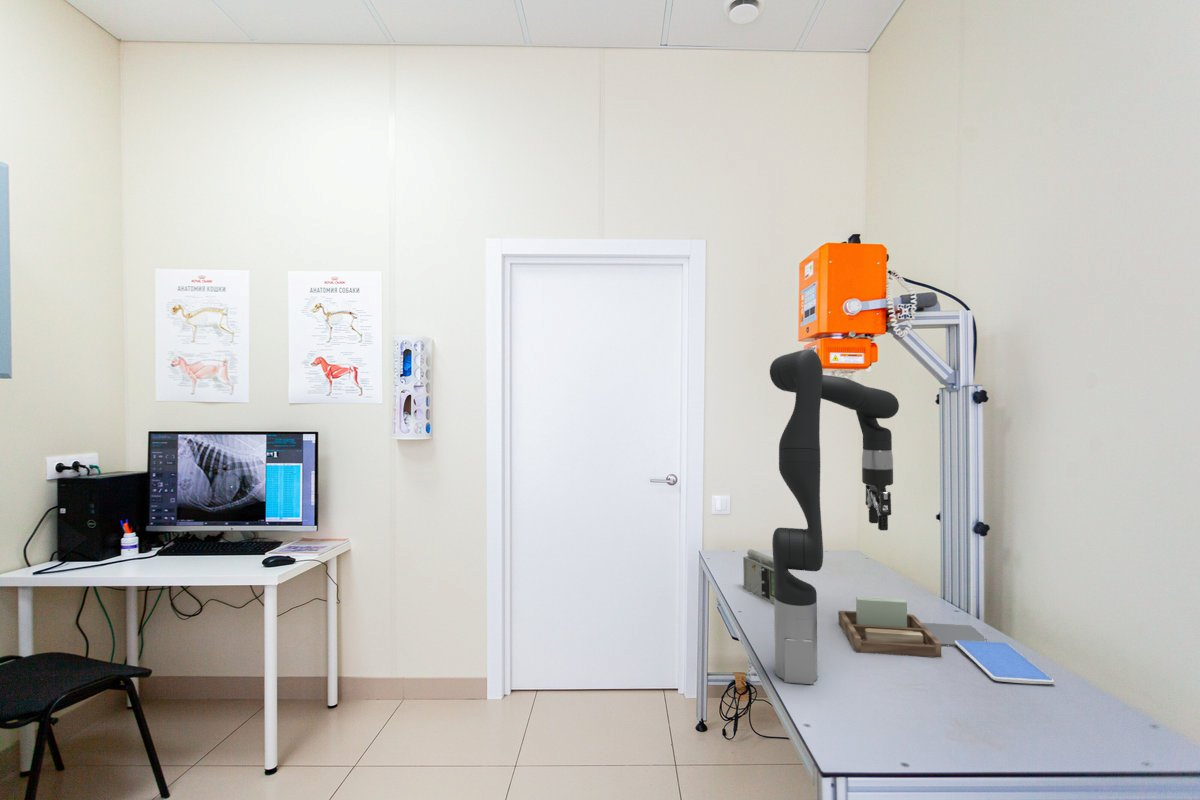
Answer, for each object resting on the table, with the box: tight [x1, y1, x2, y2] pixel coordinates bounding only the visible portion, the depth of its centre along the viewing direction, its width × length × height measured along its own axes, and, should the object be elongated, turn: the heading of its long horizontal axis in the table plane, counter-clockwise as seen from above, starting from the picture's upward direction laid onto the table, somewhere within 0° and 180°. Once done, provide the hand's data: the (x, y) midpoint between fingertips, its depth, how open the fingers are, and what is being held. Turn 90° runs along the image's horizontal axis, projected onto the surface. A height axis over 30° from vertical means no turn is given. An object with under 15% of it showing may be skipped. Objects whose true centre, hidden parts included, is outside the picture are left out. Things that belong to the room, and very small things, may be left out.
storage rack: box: [838, 610, 942, 658], centre depth 149 cm, size 19×19×4 cm
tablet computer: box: [954, 640, 1055, 685], centre depth 134 cm, size 19×13×1 cm, turn 171°
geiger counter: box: [742, 548, 774, 605], centre depth 179 cm, size 14×6×25 cm
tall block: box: [855, 596, 908, 627], centre depth 153 cm, size 2×12×9 cm, turn 79°
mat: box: [921, 622, 988, 647], centre depth 151 cm, size 14×14×1 cm
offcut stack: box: [864, 628, 923, 644], centre depth 144 cm, size 4×13×4 cm, turn 79°
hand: (878, 526), depth 154 cm, fingers open, 8 cm apart
